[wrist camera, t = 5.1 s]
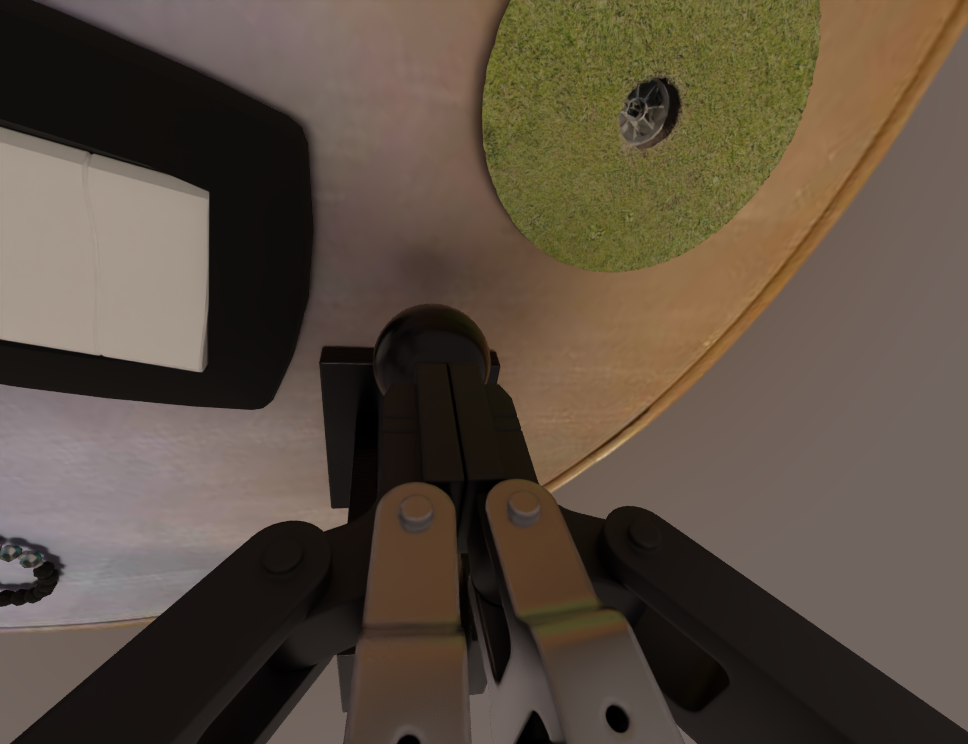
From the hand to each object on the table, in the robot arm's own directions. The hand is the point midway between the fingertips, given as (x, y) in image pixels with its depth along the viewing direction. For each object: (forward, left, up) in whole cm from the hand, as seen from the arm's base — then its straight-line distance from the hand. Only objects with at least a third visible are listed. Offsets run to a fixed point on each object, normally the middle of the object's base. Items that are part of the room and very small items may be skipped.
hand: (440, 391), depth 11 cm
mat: (+7, +6, -10) cm, 13 cm away
